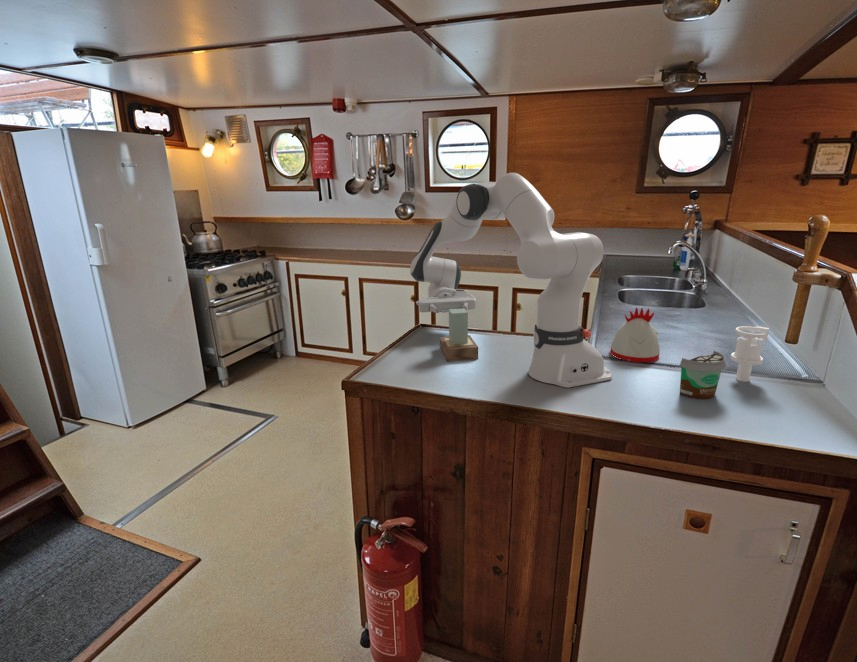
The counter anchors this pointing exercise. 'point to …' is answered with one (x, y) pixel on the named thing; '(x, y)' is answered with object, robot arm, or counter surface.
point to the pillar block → (458, 326)
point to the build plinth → (458, 350)
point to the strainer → (748, 350)
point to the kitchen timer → (636, 339)
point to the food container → (701, 375)
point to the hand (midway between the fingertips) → (451, 309)
